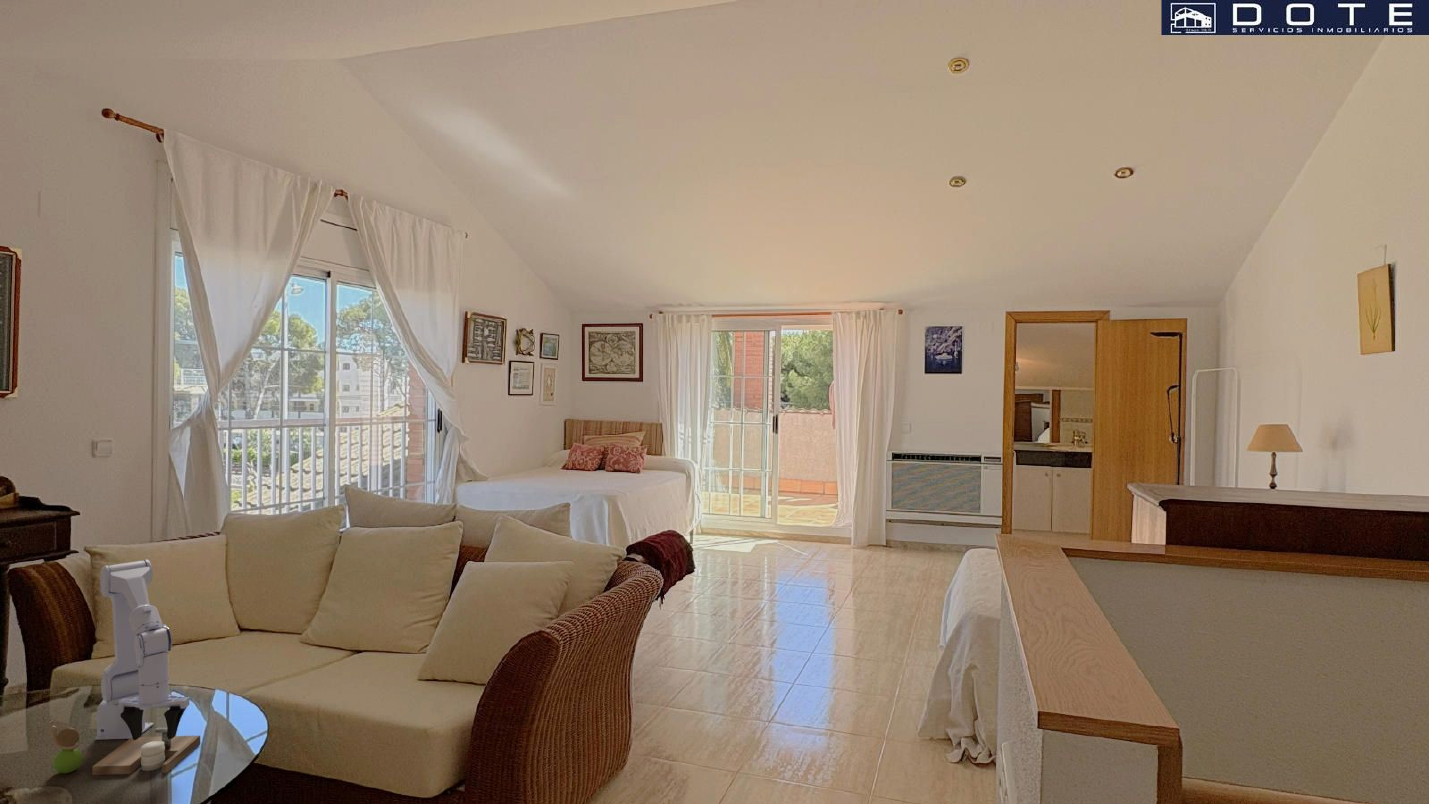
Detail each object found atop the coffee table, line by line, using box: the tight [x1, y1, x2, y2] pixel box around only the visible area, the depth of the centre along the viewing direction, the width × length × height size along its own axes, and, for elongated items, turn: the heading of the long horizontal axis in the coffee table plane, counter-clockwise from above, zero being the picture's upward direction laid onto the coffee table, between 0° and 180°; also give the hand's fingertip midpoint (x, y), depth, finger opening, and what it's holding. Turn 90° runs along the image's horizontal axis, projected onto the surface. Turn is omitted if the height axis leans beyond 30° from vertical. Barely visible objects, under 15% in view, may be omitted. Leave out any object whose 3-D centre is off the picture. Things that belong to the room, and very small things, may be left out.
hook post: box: [154, 726, 171, 750], centre depth 190 cm, size 4×2×5 cm, turn 96°
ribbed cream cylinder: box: [140, 741, 166, 772], centre depth 185 cm, size 5×5×5 cm
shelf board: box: [92, 735, 201, 776], centre depth 189 cm, size 16×14×2 cm
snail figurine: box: [48, 720, 84, 774], centre depth 182 cm, size 5×6×12 cm
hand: (154, 737), depth 185 cm, fingers open, 7 cm apart
